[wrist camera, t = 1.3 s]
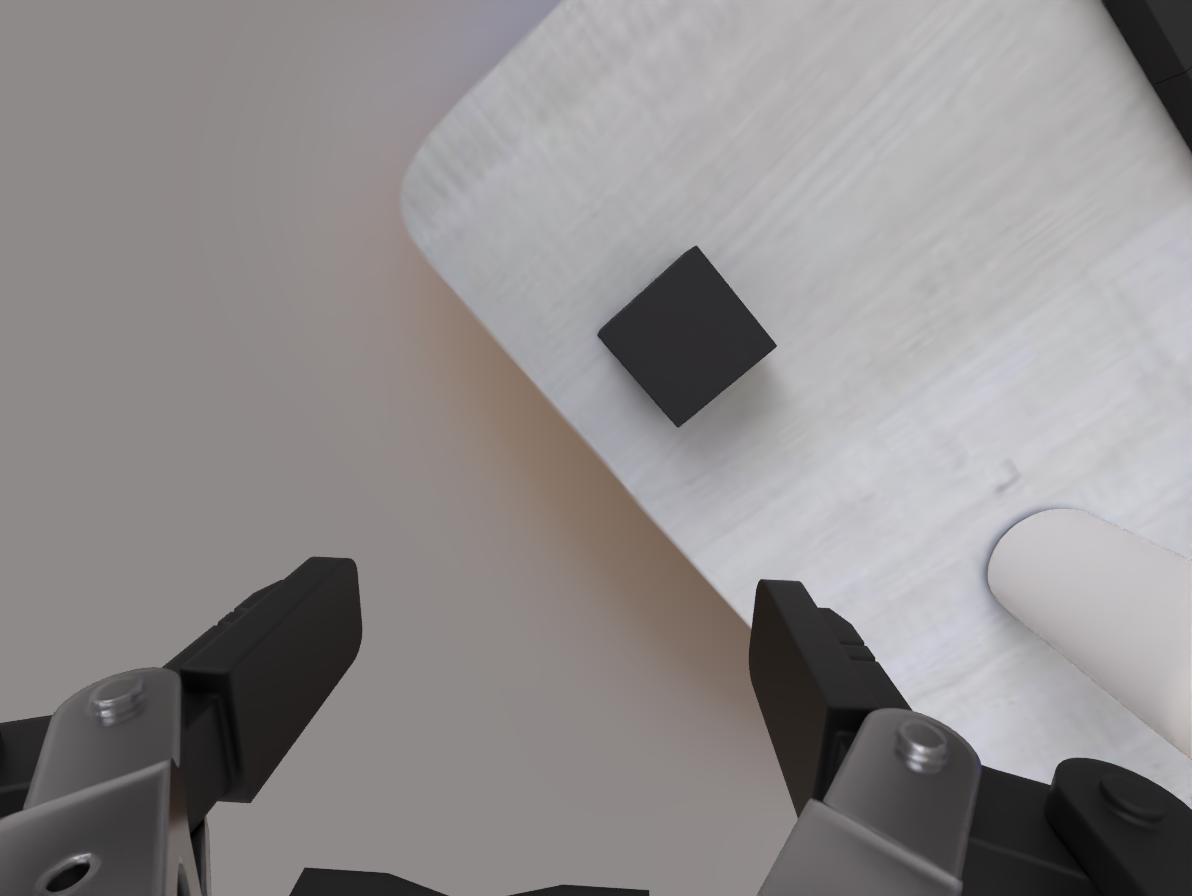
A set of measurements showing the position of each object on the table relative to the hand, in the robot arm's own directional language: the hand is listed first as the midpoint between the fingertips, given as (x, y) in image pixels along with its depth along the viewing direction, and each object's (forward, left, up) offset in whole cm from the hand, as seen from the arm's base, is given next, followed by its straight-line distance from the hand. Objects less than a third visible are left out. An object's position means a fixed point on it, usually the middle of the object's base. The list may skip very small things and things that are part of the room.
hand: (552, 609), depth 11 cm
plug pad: (0, +6, -18) cm, 19 cm away
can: (+22, +13, -18) cm, 31 cm away
